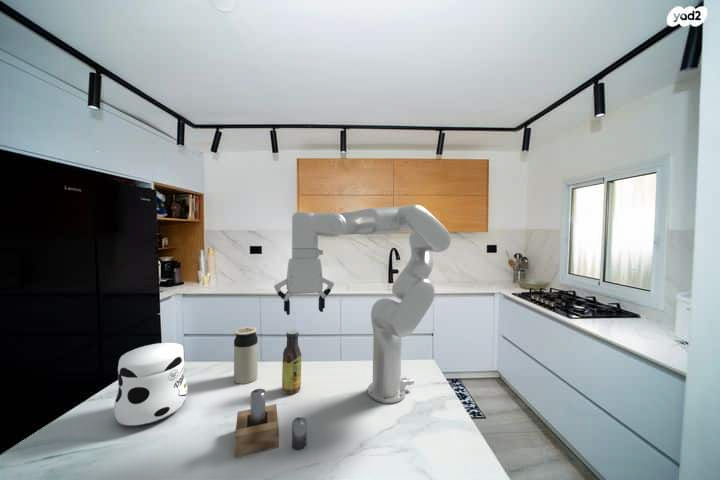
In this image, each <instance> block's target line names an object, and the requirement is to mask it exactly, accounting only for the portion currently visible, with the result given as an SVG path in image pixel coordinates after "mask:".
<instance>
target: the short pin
mask: <svg viewBox="0 0 720 480" xmlns="http://www.w3.org/2000/svg"><path fill="white" fill-rule="evenodd" d="M291 422H292V423H291V448H292V449H293V451H294V450H295V451H302V450H304V449H305V448H306V447H307V443H308V442H307V439H308V437H307V436H308V435H307V434H308V433H307V431H308V429H307V428H308V426H307V425H308V423H307V422H308V421H307V418H306V417H304V416H298V417H295V418H293V419H292V421H291Z"/></svg>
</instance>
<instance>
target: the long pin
mask: <svg viewBox="0 0 720 480" xmlns="http://www.w3.org/2000/svg"><path fill="white" fill-rule="evenodd" d="M265 406H266V390H265V389H264V388H256V389H254V390H252V391H251V392H250V409H251V418H250V427H252V426H256V425H261V424H265Z"/></svg>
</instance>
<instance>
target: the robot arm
mask: <svg viewBox="0 0 720 480" xmlns="http://www.w3.org/2000/svg"><path fill="white" fill-rule="evenodd" d="M399 232H411V233H409V237H408V239H409V240H408V242H409V247H410V253H411V255H410V258H409V260H408V262H407V263H406V265H405V266H404V268H403V269H402V271H401V272H400V273H399V274H398V276H397V278H396V279H395V281H394V283H393V284H392V286H391V287H392V288H391V291H392V295H393V296H394V297H395V298H396V299H398V300H399V301H400V302H398V301H396V300H393V299H390V298H386V297H385V298H380V299H377V300H376V301H375V302H374V303H373V305H372V308H371V312H370V318H371V319H370V320H371V326H372V327H371V328H372V382H371V383H369V385H368V387H367V393H368V396H369V397H370V398H371V399H373V400H374V401H377V402H379V403H383V404H394V403H397V402H400V401H402V400H403V399H404V398H405V397H406V389H405V388H406V387H407V386H412V385H415V382H414V378H407V376H405V375H404V376H402V344H403V343H402V338H406V337H407V336H410V335H411V334H413V332H414V331H415V330H416V329H417V327H418V326H419V324H420V322H422V319H423V318H424V316H425V315H426V313H427V312H428V311H429V309H430V307H431V306H432V305H433V302H434V299H435V294H436V293H435V287H434V285H433V283H432V282H431V281H430V280H429V279H428V278H429V276H430V275H431V272H432V270H433V267H434V261H433V254H432V253H441V252H445V251H446V250H447V249H448V248H449V247H450V245H451V241H452V237H451V234H450V232H449V230H448V229H447V228H446V227H445V226H444V224H442V223H441V222H440V220H438V219H437V218H436V217H435V216H434V215H433V214H432V213H431V212H430V211H428V209H426V208H425V207H423V206H422V205H419V204H410V205H402V206H390V207H389V206H387V207H372V208H371V207H370V208H363V209H359V210H354V211H347V212H336V211H329V212H319V213H318V212H316V213H315V212H312V211H311V212H310V211H296V212H294V213H293V214H292V217H291V258H289V259H288V262H287V269H286V270H287V272H286V273H287V274H286V278H285V279H283V280H282V281H279V282H278V283H276V284H274V286H273V288H274V289H275V291H276V292H275V293H277V295H278V297H280V298H281V299H282V300H283V311H284V312H286V316H289V315H290V313H291V312H290V311H291V310H290V309H291V305H290V304H291V302H290V298H291V297H292V296H293V295H300V294H301V295H302V294H303V295H304V294H316V293H318V295H319V296H318V311H319V312H320V313H324V309H325V308H326V307H325V306H326V299H327V296H328V295H329V294H331V291H332V289H333V287H334V286H335V285H334V284H335V283H334V282H333V281H331V280H329V279H328V278H327V279H326V278H324V277H323V269H322V262H321V259H320V258H319V256H321V255H322V256H323V254H324V251H323V250H322V249H319V237H323V238H337V237H339V236H343V235H345V236H346V235H363V236H367V235H378V234H388V233H399ZM324 284H326V285H327V287H326V288H325V289H324V290H323V286H324ZM284 286H286V290H287V291H285V293H284V292H283V291H282V290H281V288H282V287H284Z"/></svg>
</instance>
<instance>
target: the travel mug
mask: <svg viewBox="0 0 720 480" xmlns="http://www.w3.org/2000/svg"><path fill="white" fill-rule="evenodd" d="M257 331H258V330H257V328H256V327H254V326H244V327H239V328H238V329H235V330H234V334H235V337H234V340H233V381H234V382H235V383H237V384H242V385H243V384H248V383H252V382H253V381H255V380H256V379H257V378H258V357H259V356H258V354H259V353H258V349H259V348H258V345H259V344H258V335H257V334H256V333H257Z"/></svg>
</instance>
